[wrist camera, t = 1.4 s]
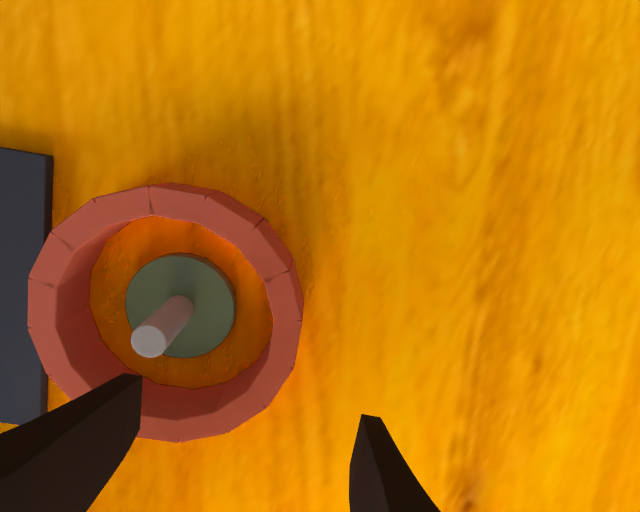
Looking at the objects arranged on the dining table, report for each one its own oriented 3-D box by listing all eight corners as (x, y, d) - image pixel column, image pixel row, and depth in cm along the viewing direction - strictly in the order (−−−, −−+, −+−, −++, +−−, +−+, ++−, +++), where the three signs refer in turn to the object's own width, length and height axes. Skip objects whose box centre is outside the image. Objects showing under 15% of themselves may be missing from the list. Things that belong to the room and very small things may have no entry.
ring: (282, 422, 24) (278, 457, 21) (61, 390, 24) (25, 422, 21) (320, 207, 21) (320, 214, 18) (69, 164, 21) (28, 164, 18)
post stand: (230, 359, 23) (208, 410, 18) (127, 343, 23) (77, 391, 18) (243, 262, 22) (223, 289, 17) (135, 244, 22) (83, 266, 17)
